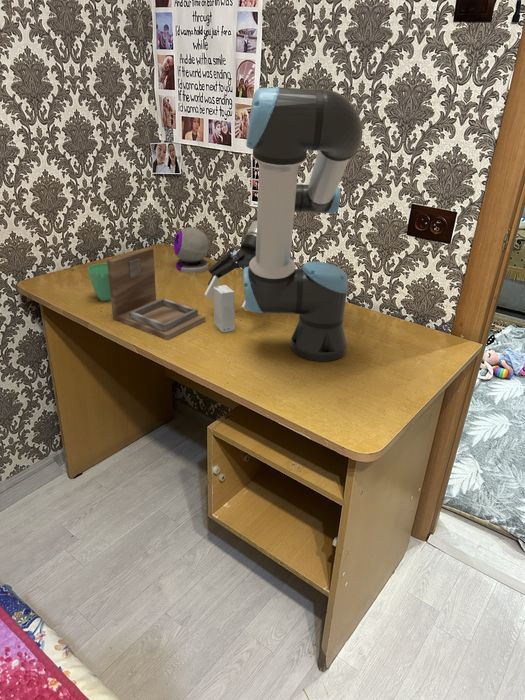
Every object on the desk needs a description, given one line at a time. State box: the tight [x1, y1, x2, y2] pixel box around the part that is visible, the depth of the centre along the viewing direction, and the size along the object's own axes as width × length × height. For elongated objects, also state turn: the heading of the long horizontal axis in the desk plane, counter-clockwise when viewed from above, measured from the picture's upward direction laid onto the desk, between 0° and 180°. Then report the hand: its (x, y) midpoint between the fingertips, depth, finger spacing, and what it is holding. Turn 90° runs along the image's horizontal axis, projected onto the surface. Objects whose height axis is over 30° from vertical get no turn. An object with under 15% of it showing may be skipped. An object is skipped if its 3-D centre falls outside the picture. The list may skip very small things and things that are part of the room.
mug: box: [87, 262, 111, 302], centre depth 169 cm, size 15×10×10 cm
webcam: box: [173, 226, 210, 274], centre depth 196 cm, size 13×13×15 cm
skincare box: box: [212, 284, 236, 333], centre depth 151 cm, size 6×4×12 cm
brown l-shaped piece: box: [106, 247, 206, 341], centre depth 153 cm, size 22×16×18 cm
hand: (225, 302), depth 152 cm, fingers open, 13 cm apart
